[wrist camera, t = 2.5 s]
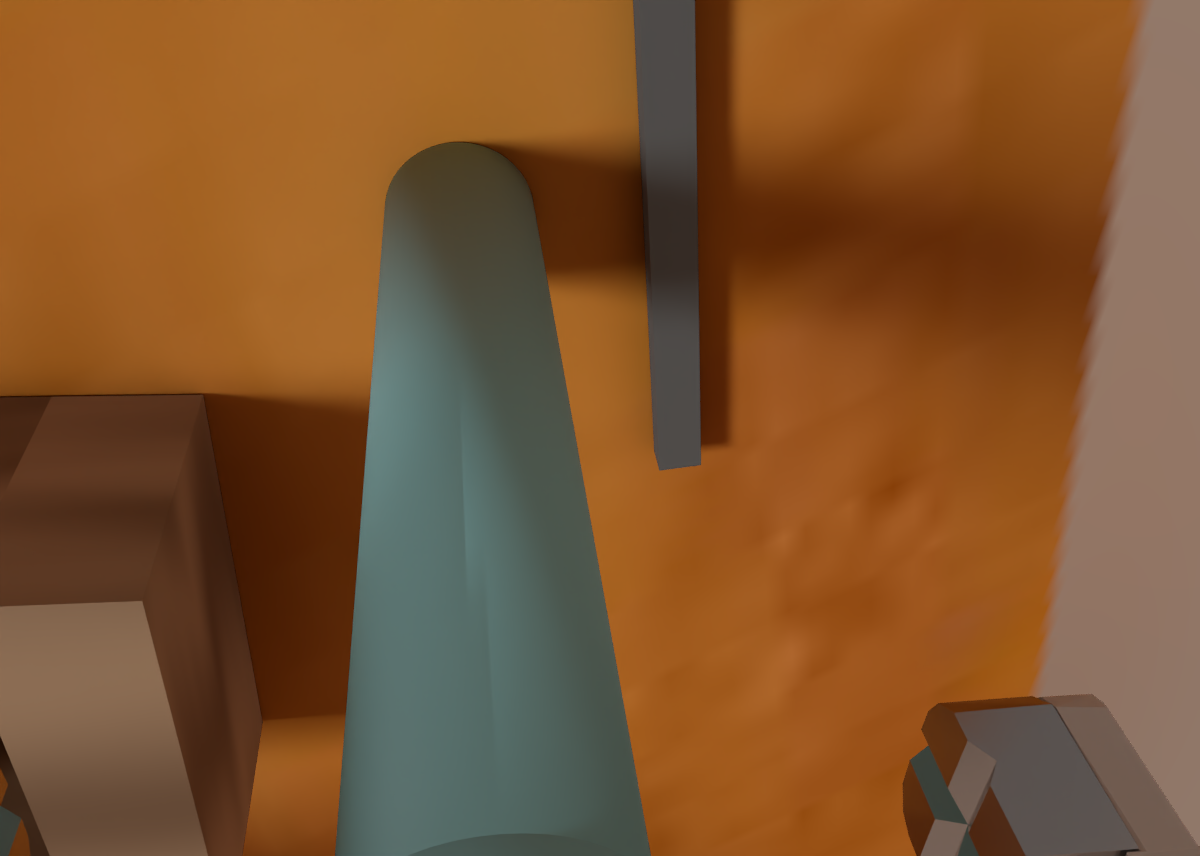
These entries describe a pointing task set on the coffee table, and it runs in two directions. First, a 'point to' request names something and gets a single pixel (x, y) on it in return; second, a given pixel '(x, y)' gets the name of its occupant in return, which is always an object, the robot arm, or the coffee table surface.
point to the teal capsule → (477, 551)
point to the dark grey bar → (670, 222)
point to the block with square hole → (121, 631)
